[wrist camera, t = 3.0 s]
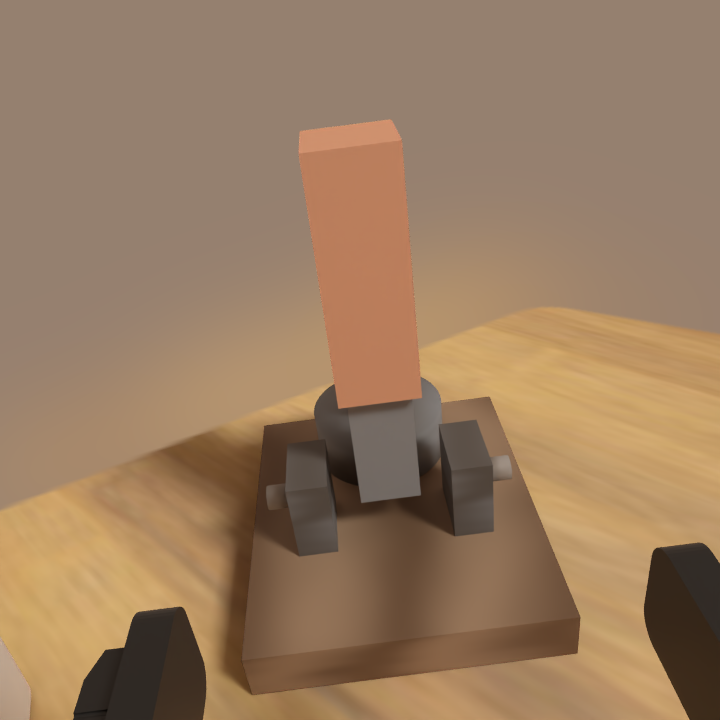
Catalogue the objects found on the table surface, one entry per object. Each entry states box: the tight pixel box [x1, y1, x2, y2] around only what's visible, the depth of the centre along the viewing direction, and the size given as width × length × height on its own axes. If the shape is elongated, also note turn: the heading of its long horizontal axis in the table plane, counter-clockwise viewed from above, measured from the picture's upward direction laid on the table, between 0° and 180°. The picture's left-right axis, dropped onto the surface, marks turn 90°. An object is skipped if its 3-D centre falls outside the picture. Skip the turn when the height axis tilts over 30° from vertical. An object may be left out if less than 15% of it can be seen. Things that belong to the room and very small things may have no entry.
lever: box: [299, 119, 422, 503], centre depth 24 cm, size 3×3×14 cm
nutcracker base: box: [241, 377, 580, 695], centre depth 29 cm, size 12×14×8 cm
